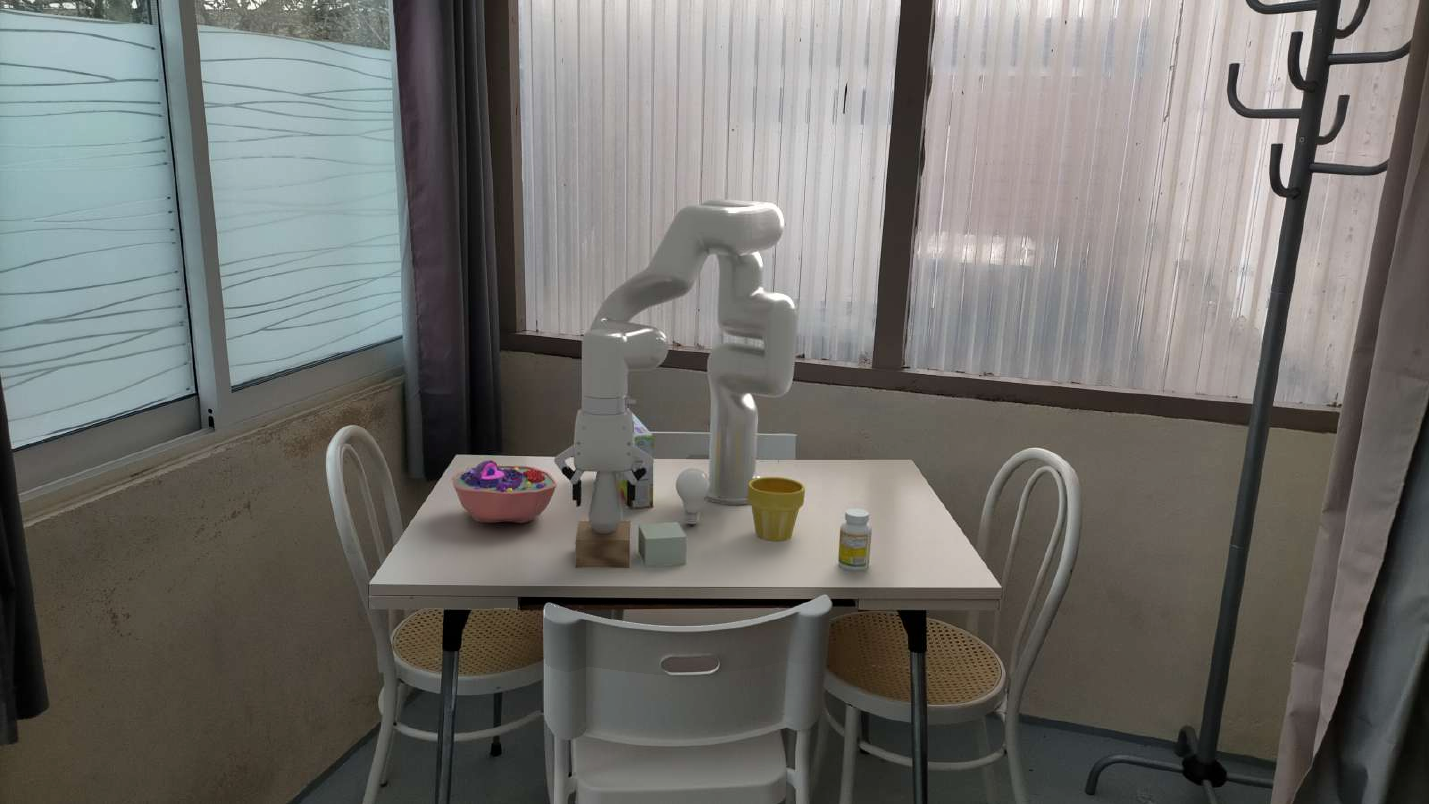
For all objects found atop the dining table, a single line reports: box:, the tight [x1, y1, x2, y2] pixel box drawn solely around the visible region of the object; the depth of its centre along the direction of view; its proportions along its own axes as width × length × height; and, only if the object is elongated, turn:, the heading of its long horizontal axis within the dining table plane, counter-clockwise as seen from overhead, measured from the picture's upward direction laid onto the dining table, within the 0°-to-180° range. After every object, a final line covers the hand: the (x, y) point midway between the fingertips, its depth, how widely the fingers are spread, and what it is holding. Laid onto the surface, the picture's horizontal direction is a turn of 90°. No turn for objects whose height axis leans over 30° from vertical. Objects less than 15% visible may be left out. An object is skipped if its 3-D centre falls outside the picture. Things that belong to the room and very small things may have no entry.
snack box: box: [615, 408, 655, 510], centre depth 209 cm, size 21×6×15 cm, turn 18°
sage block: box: [637, 521, 688, 568], centre depth 176 cm, size 7×7×5 cm
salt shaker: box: [588, 471, 623, 534], centre depth 174 cm, size 6×6×13 cm
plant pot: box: [748, 476, 806, 542], centre depth 188 cm, size 10×10×10 cm
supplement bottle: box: [837, 508, 873, 571], centre depth 176 cm, size 5×5×10 cm
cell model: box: [451, 459, 558, 524], centre depth 191 cm, size 17×20×11 cm
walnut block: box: [575, 520, 631, 569], centre depth 176 cm, size 9×9×5 cm
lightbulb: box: [675, 467, 710, 526], centre depth 192 cm, size 6×6×11 cm
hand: (603, 503), depth 174 cm, fingers open, 8 cm apart
